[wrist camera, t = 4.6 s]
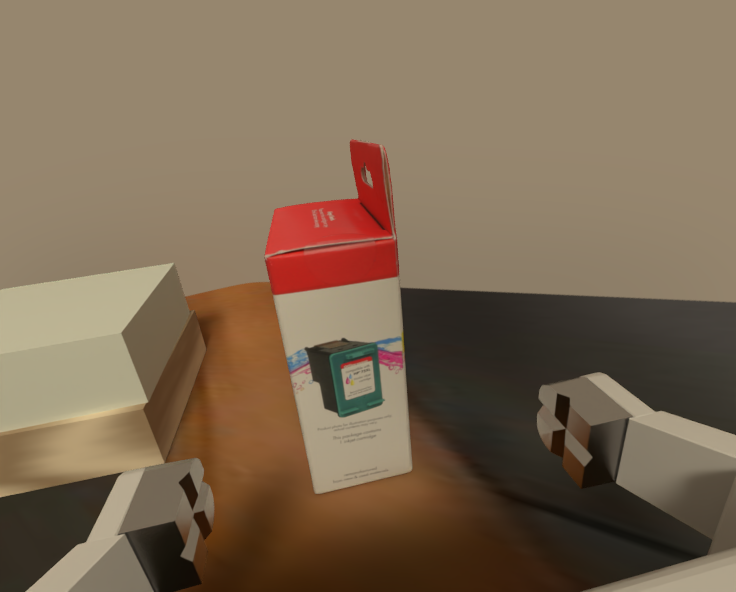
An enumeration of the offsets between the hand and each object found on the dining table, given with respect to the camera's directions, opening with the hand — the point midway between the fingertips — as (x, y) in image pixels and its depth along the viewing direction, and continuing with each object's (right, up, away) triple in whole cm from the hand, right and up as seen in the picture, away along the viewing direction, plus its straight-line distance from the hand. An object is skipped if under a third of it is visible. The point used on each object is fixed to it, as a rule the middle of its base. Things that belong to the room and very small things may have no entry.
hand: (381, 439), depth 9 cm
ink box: (-1, -4, +13) cm, 14 cm away
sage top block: (-18, -1, +15) cm, 23 cm away
